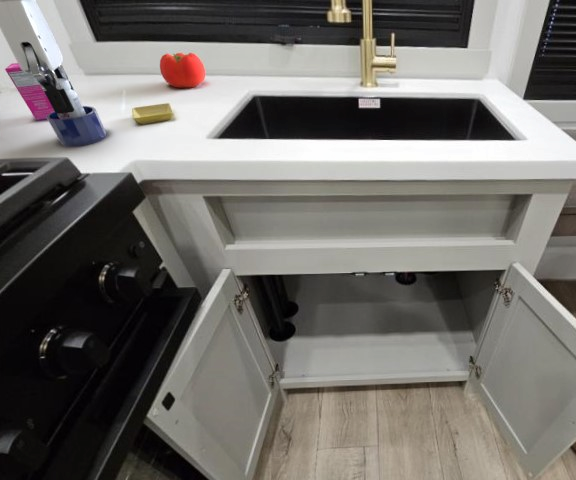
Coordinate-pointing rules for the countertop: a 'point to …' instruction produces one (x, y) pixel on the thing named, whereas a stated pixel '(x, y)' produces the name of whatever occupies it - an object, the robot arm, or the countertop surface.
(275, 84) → the countertop surface
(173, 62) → the tomato
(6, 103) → the countertop surface
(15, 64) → the supplement box
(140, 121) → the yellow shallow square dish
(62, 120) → the blue cup
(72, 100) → the pill bottle
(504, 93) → the countertop surface
